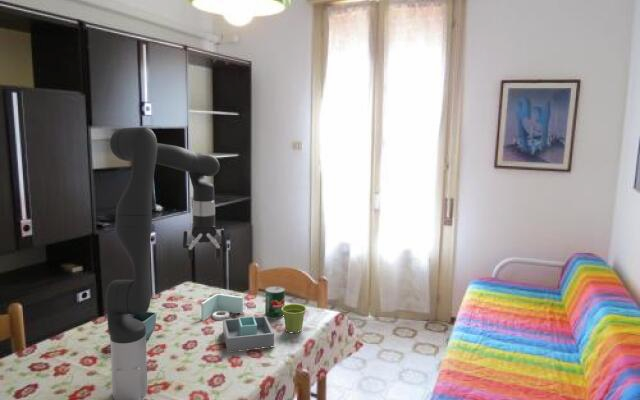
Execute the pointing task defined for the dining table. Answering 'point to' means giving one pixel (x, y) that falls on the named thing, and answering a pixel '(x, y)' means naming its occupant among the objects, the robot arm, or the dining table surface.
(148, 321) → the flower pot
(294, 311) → the plant pot
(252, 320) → the teal crate
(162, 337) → the dining table surface
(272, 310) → the canned tomato
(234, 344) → the grey open tray
